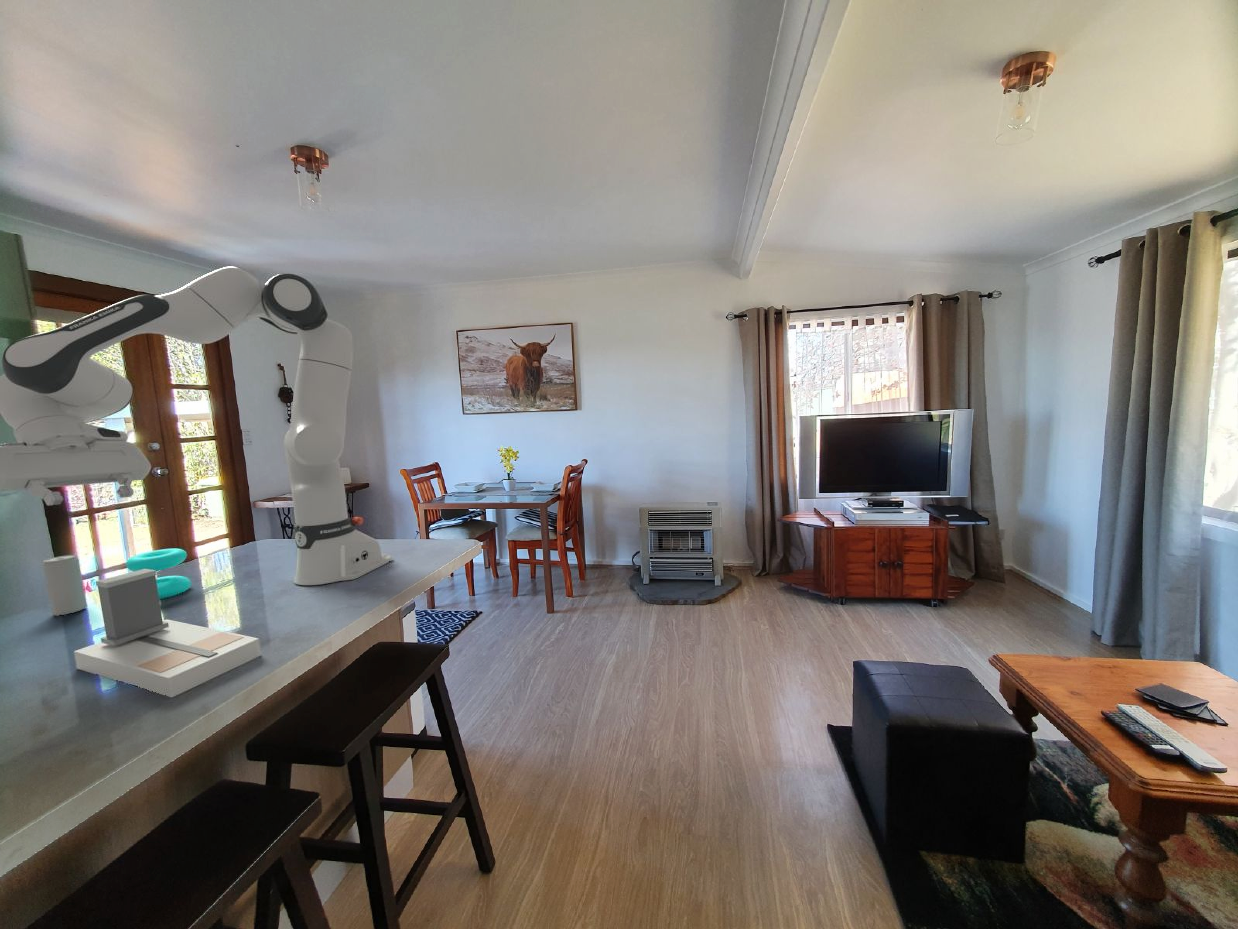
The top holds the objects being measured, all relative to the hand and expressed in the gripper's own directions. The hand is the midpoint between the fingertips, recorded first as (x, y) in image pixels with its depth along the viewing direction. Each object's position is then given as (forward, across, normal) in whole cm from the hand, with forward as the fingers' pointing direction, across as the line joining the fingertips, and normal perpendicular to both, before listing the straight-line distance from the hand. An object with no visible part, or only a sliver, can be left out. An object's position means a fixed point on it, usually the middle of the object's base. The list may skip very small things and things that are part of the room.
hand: (93, 498), depth 84 cm
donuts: (+8, +17, +29) cm, 35 cm away
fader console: (+35, -3, 0) cm, 35 cm away
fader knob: (+27, -3, +4) cm, 27 cm away
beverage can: (+3, +5, +36) cm, 37 cm away
